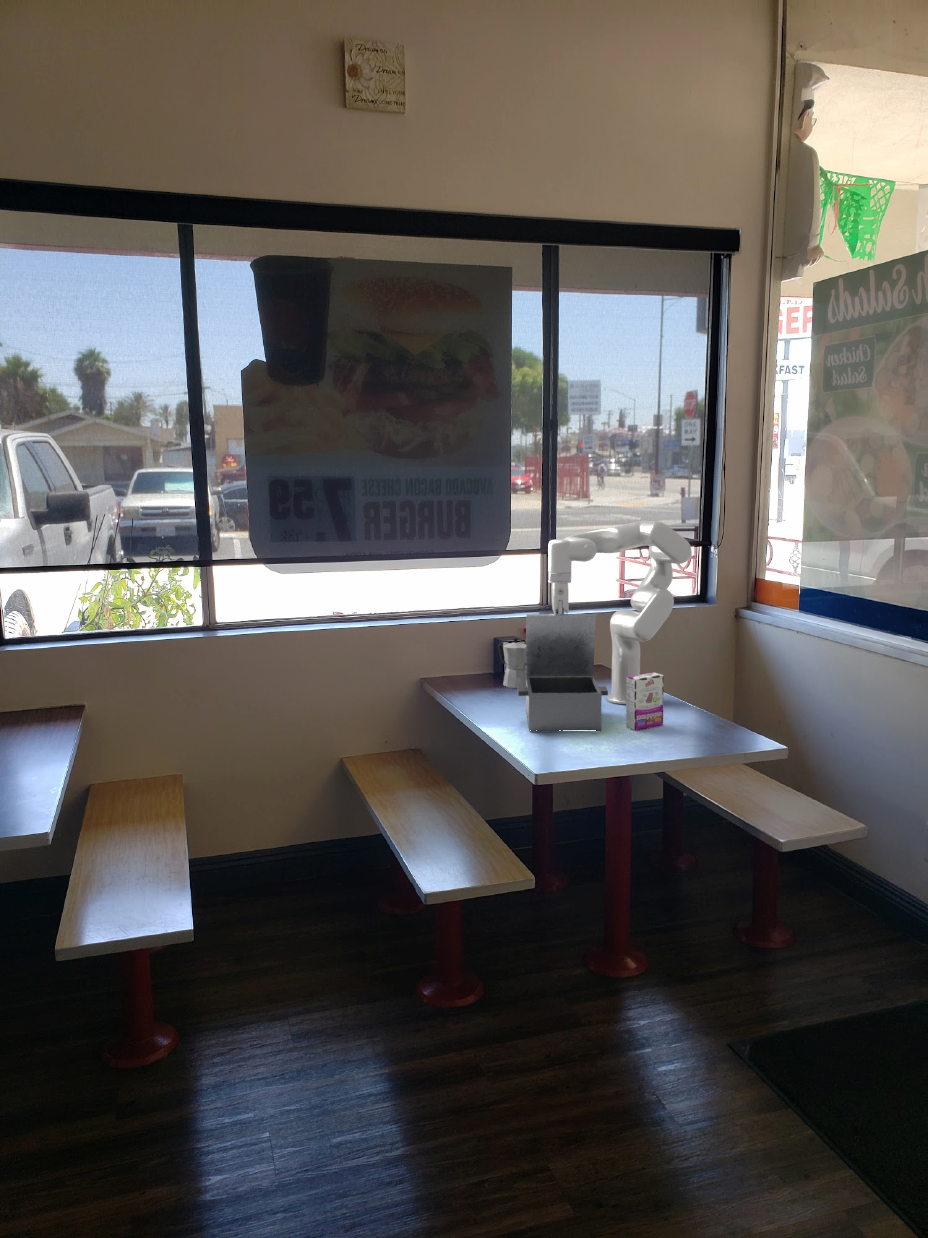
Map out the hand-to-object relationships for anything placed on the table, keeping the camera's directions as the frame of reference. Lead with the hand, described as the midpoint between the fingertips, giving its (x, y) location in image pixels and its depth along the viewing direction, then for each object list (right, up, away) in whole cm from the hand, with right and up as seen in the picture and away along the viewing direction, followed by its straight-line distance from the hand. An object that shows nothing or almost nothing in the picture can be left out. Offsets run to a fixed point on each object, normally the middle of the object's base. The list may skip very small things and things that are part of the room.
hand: (558, 633), depth 295 cm
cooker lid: (0, -4, -4) cm, 6 cm away
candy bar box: (+25, -29, -15) cm, 41 cm away
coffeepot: (-13, -20, +40) cm, 47 cm away
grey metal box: (0, -28, -8) cm, 29 cm away
